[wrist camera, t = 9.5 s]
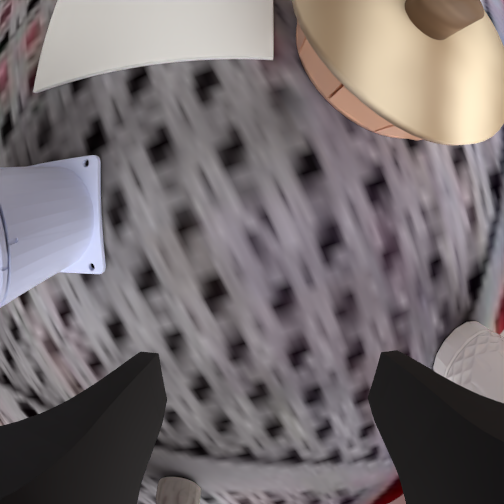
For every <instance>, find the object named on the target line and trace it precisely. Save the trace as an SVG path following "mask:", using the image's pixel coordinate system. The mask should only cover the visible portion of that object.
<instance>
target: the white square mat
mask: <svg viewBox="0 0 504 504" xmlns="http://www.w3.org/2000/svg"><path fill="white" fill-rule="evenodd" d="M216 59H259V60H273V0H58V1H57V4H56V6H55V9H54V12H53V15H52V18H51V21H50V24H49V27H48V30H47V34H46V37H45V40H44V44H43V48H42V52H41V56H40V60H39V64H38V69H37V74H36V79H35V84H34V90H33V92H34V93H39V92H42V91H45V90H48V89H51V88H54V87H57V86H60V85H63V84H66V83H70V82H73V81H77V80H80V79H84V78H88V77H92V76H96V75H100V74H105V73H109V72H114V71H119V70H124V69H130V68H136V67H142V66H148V65H156V64H164V63H172V62H183V61H196V60H216Z"/></svg>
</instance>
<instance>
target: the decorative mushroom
mask: <svg viewBox="0 0 504 504" xmlns="http://www.w3.org/2000/svg"><path fill="white" fill-rule="evenodd" d="M200 496H201V488H200V487H199V486H198V485H197V484H196V483H194V482H192V481H191V480H188V479H184V478H180V477H164V478H161V479H160V481H159V482H158V488H157V494H156V504H200Z"/></svg>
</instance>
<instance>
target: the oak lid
mask: <svg viewBox="0 0 504 504" xmlns="http://www.w3.org/2000/svg"><path fill="white" fill-rule="evenodd" d="M292 4H293V8H294V13H295V15H296V18H297V20H298V23H299V25H300V28H301V29H302V31H303V33H304V35H305V37H306V39H307V40H308V42H309V44H310V45H311V47H312V48H313V50H314V51H315V52H316V54H317V55H318V57H319V58H320V60H321V61H322V62H323V63H324V64H325V66H326V67H327V68H328V69H329V70H330V72H331V73H332V74H333V75H334V76H335V77H336V78H337V79H338V80H339V81H340V82H341V83H342V84H343V85H344V87H345V88H346V89H347V90H349V91H350V92H351V93H352V94H353V95H354V96H355V97H356V98H358V99H359V100H360V101H361V102H362V103H363V104H364V105H366V106H367V107H368V108H370V109H371V110H372V111H374V112H375V113H376V114H377V115H379V116H380V117H382V118H383V119H385V120H386V121H388V122H389V123H391V124H392V125H394V126H396V127H397V128H399V129H401V130H403V131H405V132H407V133H409V134H411V135H413V136H416V137H418V138H421V139H423V140H426V141H430V142H433V143H437V144H443V145H464V144H475V143H479V142H482V141H485V140H487V139H488V138H490V137H492V136H493V135H494V134H495V133H496V132H497V131H499V130H500V128H501V127H502V125H503V124H504V46H503V44H502V41H501V39H500V37H499V35H498V33H497V31H496V29H495V27H494V25H493V23H492V22H491V20H490V18H489V17H488V15H487V14H486V12H485V11H484V9H483V6H482V4H481V2H480V0H292Z"/></svg>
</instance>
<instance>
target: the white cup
mask: <svg viewBox="0 0 504 504" xmlns="http://www.w3.org/2000/svg"><path fill="white" fill-rule="evenodd" d="M433 370H434V372H436V373H438V374H440V375H441V376H443V377H445V378H447V379H449V380H451V381H452V382H454V383H456V384H458V385H460V386H462V387H464V388H466V389H468V390H470V391H472V392H475V393H477V394H479V395H482V396H485V397H487V398H490V399H493V400H495V401H498V402H501V403H504V337H503V336H501V335H499V334H498V333H494V332H492V331H491V330H489V329H488V328H486V327H485V326H483V325H482V324H480V323H479V322H477V321H471V322H466V323H464V324H462V325H461V326H459V327H457V328H456V329H455V330H454V331H453V332H452V333H451V334H450V335H449V336H448V337H447V338H446V339H445V340H444V342H443V344H442V346H441V347H440V349H439V351H438V353H437V354H436V358H435V362H434V366H433Z"/></svg>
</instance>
